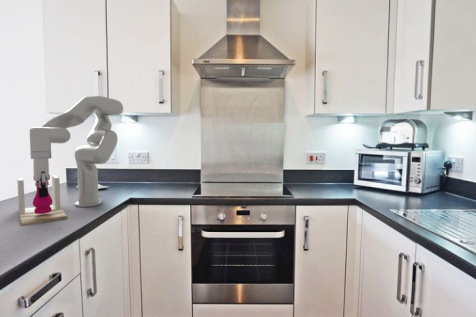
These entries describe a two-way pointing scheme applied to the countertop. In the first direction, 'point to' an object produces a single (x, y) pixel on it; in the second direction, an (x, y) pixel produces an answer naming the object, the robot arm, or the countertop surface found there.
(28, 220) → the oak board
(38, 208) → the pepper mill
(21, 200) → the gate
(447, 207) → the countertop surface
